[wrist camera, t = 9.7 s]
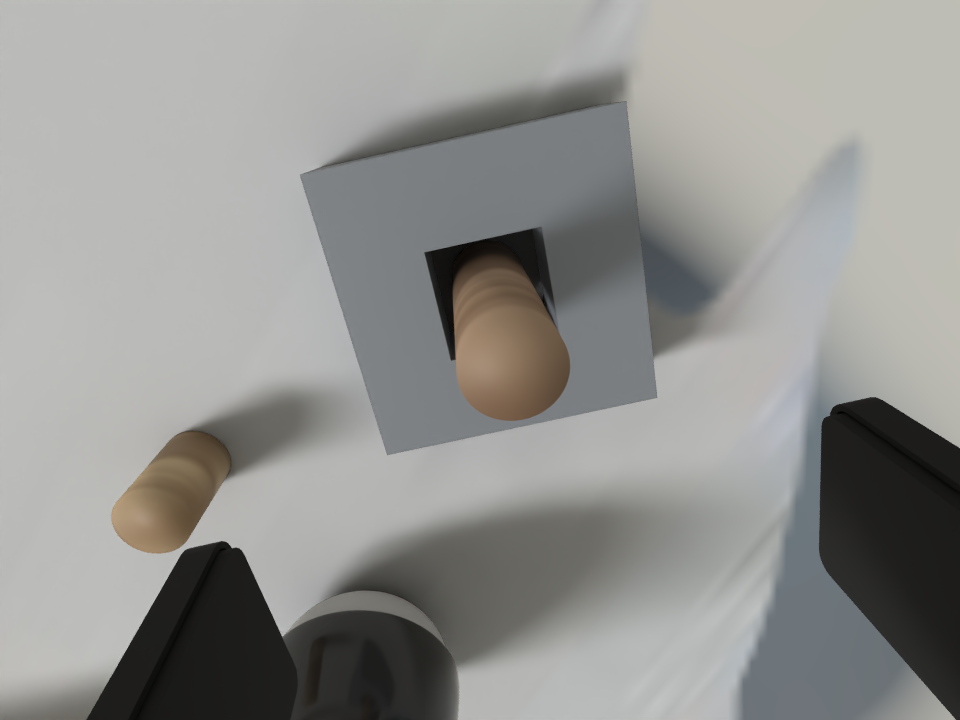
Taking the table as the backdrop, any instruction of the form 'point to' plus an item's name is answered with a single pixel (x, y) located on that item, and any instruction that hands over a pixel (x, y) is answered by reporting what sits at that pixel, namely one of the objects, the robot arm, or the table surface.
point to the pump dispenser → (371, 661)
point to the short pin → (172, 493)
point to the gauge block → (476, 216)
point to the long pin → (504, 336)
